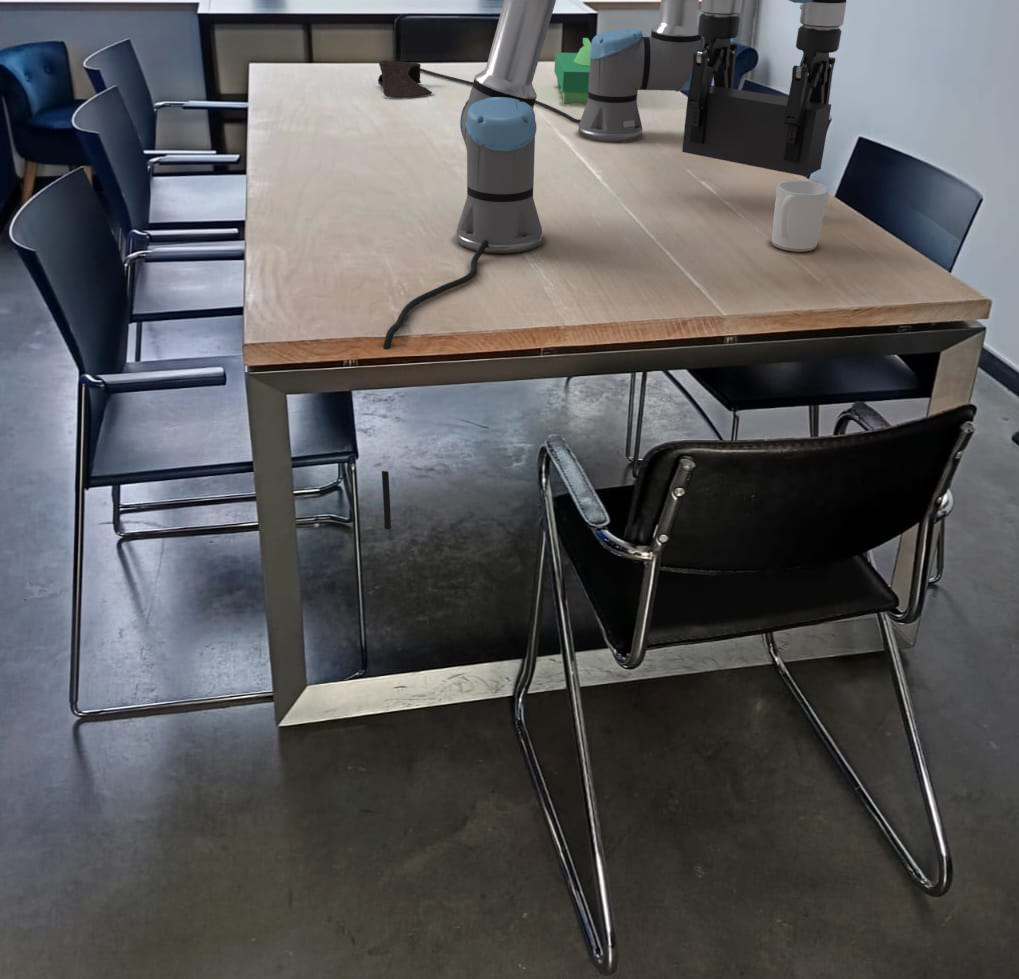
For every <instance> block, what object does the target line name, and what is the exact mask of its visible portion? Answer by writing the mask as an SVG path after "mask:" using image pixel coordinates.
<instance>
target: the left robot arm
mask: <svg viewBox="0 0 1019 979" xmlns="http://www.w3.org/2000/svg"><path fill="white" fill-rule="evenodd" d="M788 1H789V2H792V3H794V4H799V9H800V10H801V11H800V18H799V23H800V24H801V25H800V26H799V27H798V29H797V34H796V35H797V36H796V43H795V48H796V49H798V50H799V51H802V52H803V54H802V57H801V60H800V63H799V65H793V67H792V70H791V71H792V72H791V82H790V87H789V93H788V102H787V108H786V113H785V118H784V124H788V125H789V128H788V135H787V142H786V148H785V155H784V160H786V161H791V162H799V157H800V151H801V145H802V138H803V132H804V126H802V124H803V120H804V117H805V114H806V109H807V107H808V103H809V101H811V102H818V103H825V104H830V96H831V89H832V88H831V87H832V81H833V74H834V68H835V64H836V57H831V56H830V53H836V52H838V50H839V49H840V43H841V36H842V30H841V28H840V27H841V26H843V25H844V20H845V15H846V9H847V8H846V7H847V0H788ZM556 3H557V0H503V3H502V7H501V10H500V15H499V19H498V22H497V26H496V30H495V34H494V37H493V40H492V43H491V44H492V45H491V48H490V52H489V55H488V60H487V63H486V67H485V69H484V70H482V71H481V72H479V73H477V74H475V75H474V78H473V81H472V82H473V85H471V89H470V92H469V96H468V99H467V100H466V101H465V103H464V106H463V107H462V110H461V113H460V120H459V125H460V132H461V136H462V139H463V141H464V146H465V148H466V192H467V193H466V198H465V202H464V205H463V209H462V211H461V214H460V218H459V220H458V224H457V228H456V241H457V243H458V244H459V245H461V246H462V247H464V248H466V249H468V250H470V251H475V253H474V254H473V257H472V258H471V260H470V271H469V272H468V273H467V274H466V275H464V276H462V277H460V278H458V279H455V280H452V281H450V282H447V283H445V284H443V285H440V286H437V287H436V288H434V289H432V290H429V291H426V292H425V293H423V294H421V295H419V296H417V297H415V298H414V299H412V300H411V301H409V302H408V303H407V304H406V305H405V306H404V307H403V309H402V310H401V312H400V313H399V316H398V318H397V319H396V321H395V323H394V324H392V325H391V326H390V327H389V329H388V330H387V331H386V334H385V338H384V341H383V345H382V346H383V347H382V349H383V350H385V351H386V350H390V349H391V346H392V342H393V339H394V335H395V333H396V332H398V331H399V330H400V328H401V327H402V326H403V324H404V322H405V320H406V318H407V316H408V315H409V313H410V311H412V310H413V309H414V308H415V307H416V306H418V305H420V304H421V303H423V302H425V301H427V300H429V299H431V298H434V297H436V296H438V295H440V294H442V293H445V292H446V291H450V290H451V289H454V288H456V287H457V288H458V287H460V286H461V285H465V284H466V283H468V282H470V281H471V280H472V279H473V278H474V277H475V276H476V275H477V273H478V272H477V271H478V269H477V268H478V266H477V265H478V261H479V260H480V257H481V256H482V255H483V253H486V254H497V255H499V254H500V255H506V254H507V255H508V254H517V253H524V252H527V251H530V250H533V249H536V248H538V247H539V246H540V245H541V244H542V243H543V229H542V224H541V221H540V220H541V219H540V218H539V214H538V213H539V212H538V210H537V206H536V204H535V199H534V184H535V181H534V180H535V148H536V147H535V146H536V134H537V122H536V113H535V110H534V107H535V101H537V97H538V94H537V93H536V90H535V88H534V85H533V81H534V77H535V74H536V71H537V67H538V63H539V60H540V57H541V54H542V50H543V48H544V42H545V40H546V37H547V33H548V30H549V26H550V22H551V19H552V15H553V12H554V10H555V5H556ZM381 483H382V500H383V502H382V503H383V518H384V519H383V523H384V526H383V527H384V530H386V531H387V530H391V529H392V520H391V518H392V516H391V493H390V476H389V471H388V470H381Z"/></svg>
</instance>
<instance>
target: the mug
mask: <svg viewBox="0 0 1019 979" xmlns="http://www.w3.org/2000/svg"><path fill="white" fill-rule="evenodd" d="M829 192H830V188H829V187H828V186H827V185H825V184H823V183H819V182H815V181H811V180H802V179H801V180H800V179H791V180H789V179H788V180H783V181H780V182H778V183H777V185H776V192H775V202H774V212H773V220H772V221H773V223H772V230H771V231H772V232H771V241H770V242H771V244H772V245H773V246H774V247H775V248H778V249H779V250H783V251H788V252H796V253H797V252H798V253H799V252H800V253H802V252H811V251H813V250H815V249H816V248H817V246H818V242H819V237H820V233H821V229H822V224H823V220H824V215H825V212H826V206H827V202H828V197H829Z"/></svg>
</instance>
